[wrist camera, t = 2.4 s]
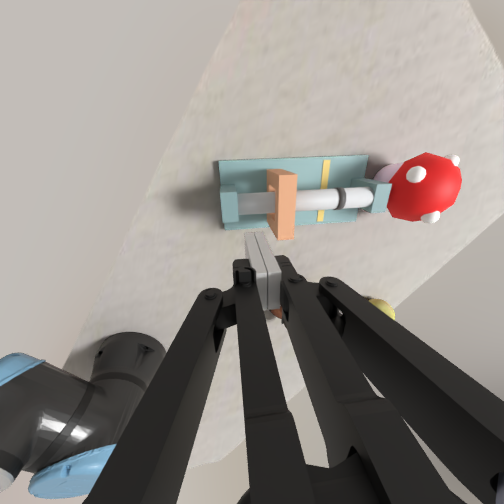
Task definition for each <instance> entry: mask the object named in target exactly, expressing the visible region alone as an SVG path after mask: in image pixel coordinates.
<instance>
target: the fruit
mask: <svg viewBox="0 0 504 504" xmlns="http://www.w3.org/2000/svg"><path fill="white" fill-rule="evenodd" d="M368 301H369V302H371V303H372V304H373V305H375V306H376V307H377V308H379V309H380V310H381V311H383V312H384V313H385V314H387V315H388V316H389V317H391V318H392V319H393V320H395V313H394V310H393V308H392V307H391V306H390V305H389V304H388V303H387V302H386V301H384V300H380V299H371V300H368Z"/></svg>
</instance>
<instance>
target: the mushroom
mask: <svg viewBox="0 0 504 504" xmlns="http://www.w3.org/2000/svg"><path fill="white" fill-rule="evenodd" d="M458 163H459V157H458V156H456V155H453V154H451V155H447V156H445V157H444V158H443V157H440V156H437V155H433V154H430V153H427V152H425V153H423V154H421V155H419V156H416V157H414V158H412V159H410V160H407V161H405V162H403V163H397V164H390V165H388V166H385V167H383V168H382V169H381V170H380V171H378V172H377V174H376V175H375V177H374V178H373V180H376V181H381V182H386V183H391V184H392V187H391V191H390V195H389V198H388V202H387V208H388V210H389V212H390V213H391V215H392V217H394V218H398V219H403V220H408V221H412V222H413V221H421V220H422V221H423V222H424V223H434V222H436V221H437V220H438V219H439V217H440V213H441V212H443V211H444V210H446V209H448V208H449V207H450V206H452V205H453V204H454V202H455V200H456V198H457V195H458V193H459V191H460V187H461V182H462V179H461V173H460V169H459V168H458V167H457V165H458Z"/></svg>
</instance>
